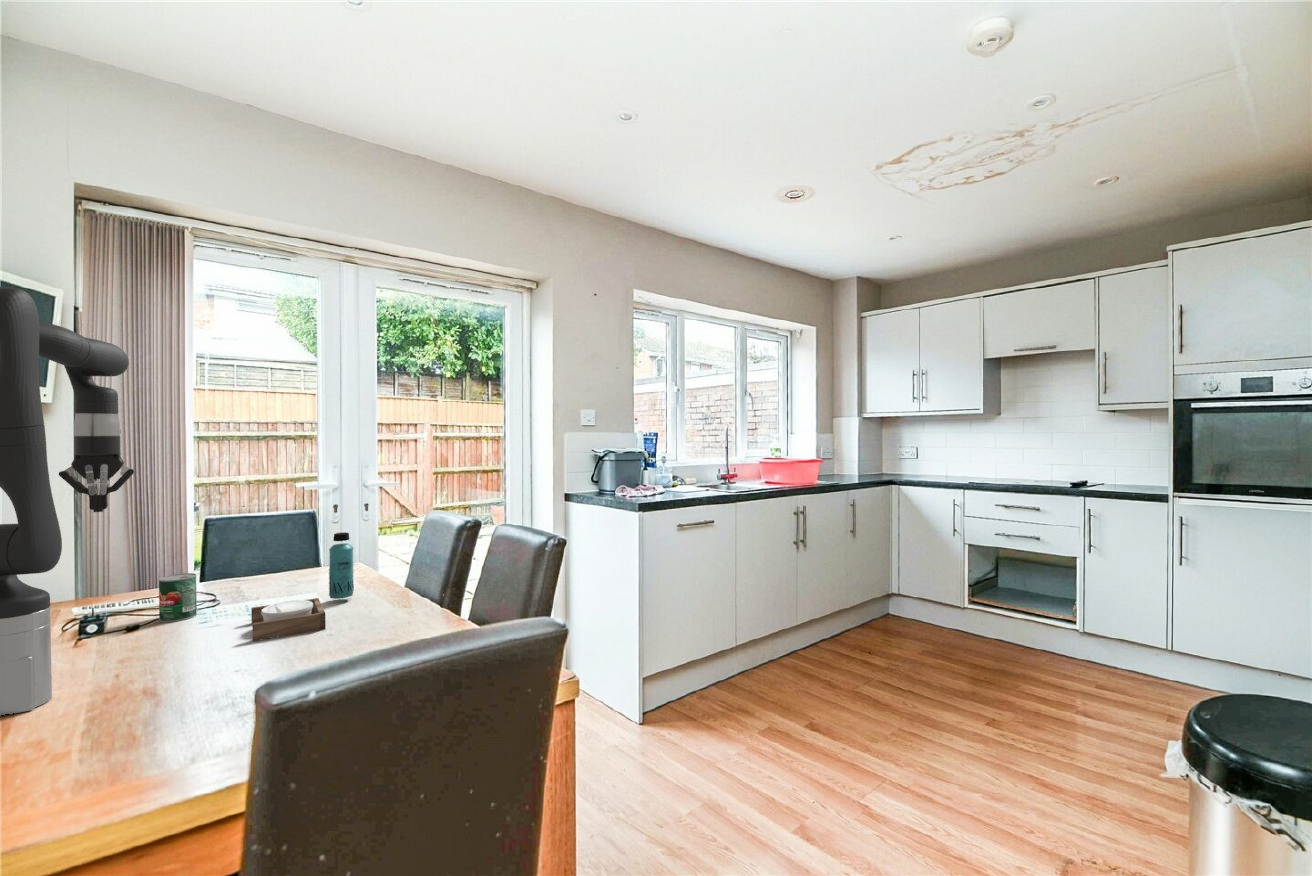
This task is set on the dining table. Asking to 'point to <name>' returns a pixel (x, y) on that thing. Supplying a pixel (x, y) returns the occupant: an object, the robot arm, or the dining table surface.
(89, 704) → the dining table surface
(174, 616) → the canned tomato
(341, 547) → the beverage bottle
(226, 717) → the dining table surface
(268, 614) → the ramekin
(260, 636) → the walnut bay
